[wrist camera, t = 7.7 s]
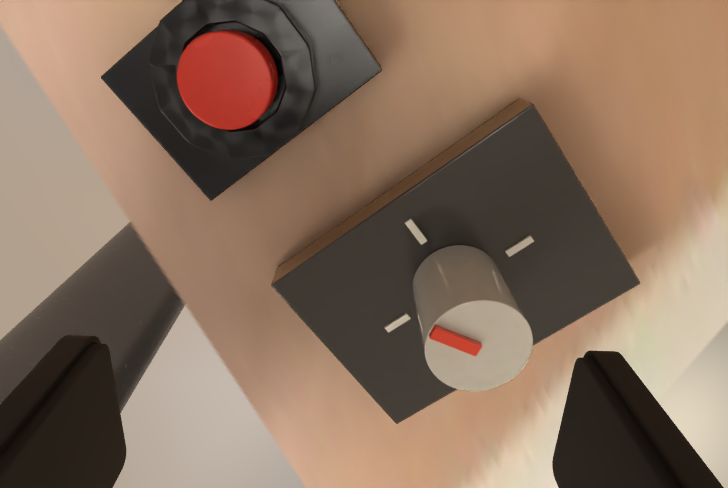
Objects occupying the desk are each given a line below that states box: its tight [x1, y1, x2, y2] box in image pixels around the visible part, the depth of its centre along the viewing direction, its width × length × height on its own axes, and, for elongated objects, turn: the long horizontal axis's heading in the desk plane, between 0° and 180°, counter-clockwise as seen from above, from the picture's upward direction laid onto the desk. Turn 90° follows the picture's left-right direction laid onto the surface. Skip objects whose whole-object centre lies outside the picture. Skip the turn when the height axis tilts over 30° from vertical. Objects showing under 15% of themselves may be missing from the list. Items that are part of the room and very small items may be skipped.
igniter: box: [101, 0, 382, 200], centre depth 23 cm, size 10×7×4 cm
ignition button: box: [177, 30, 278, 130], centre depth 21 cm, size 4×4×2 cm
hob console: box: [271, 98, 640, 424], centre depth 28 cm, size 15×11×2 cm
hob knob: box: [413, 245, 533, 391], centre depth 24 cm, size 4×4×6 cm
